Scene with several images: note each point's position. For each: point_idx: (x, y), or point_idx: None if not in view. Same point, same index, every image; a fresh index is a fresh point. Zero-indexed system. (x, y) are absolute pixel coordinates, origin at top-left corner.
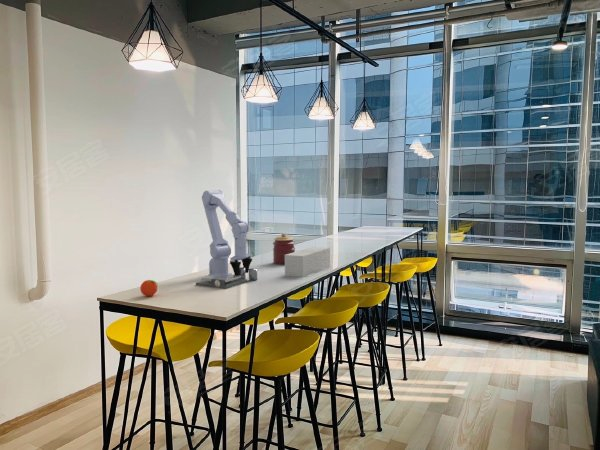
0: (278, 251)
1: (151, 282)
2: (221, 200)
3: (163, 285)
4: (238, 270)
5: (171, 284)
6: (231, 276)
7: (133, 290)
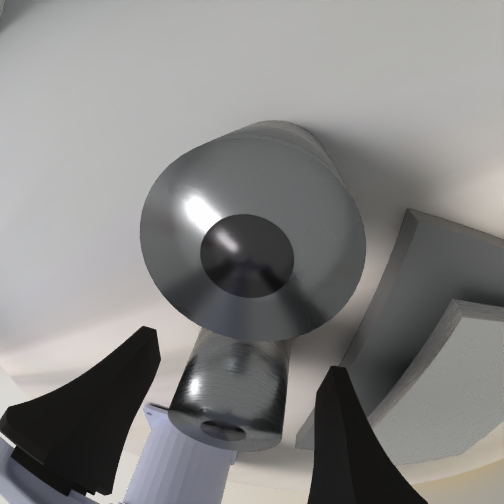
0: None
1: None
2: None
3: (428, 472)
4: (362, 418)
5: (417, 470)
6: (484, 372)
7: (469, 468)
